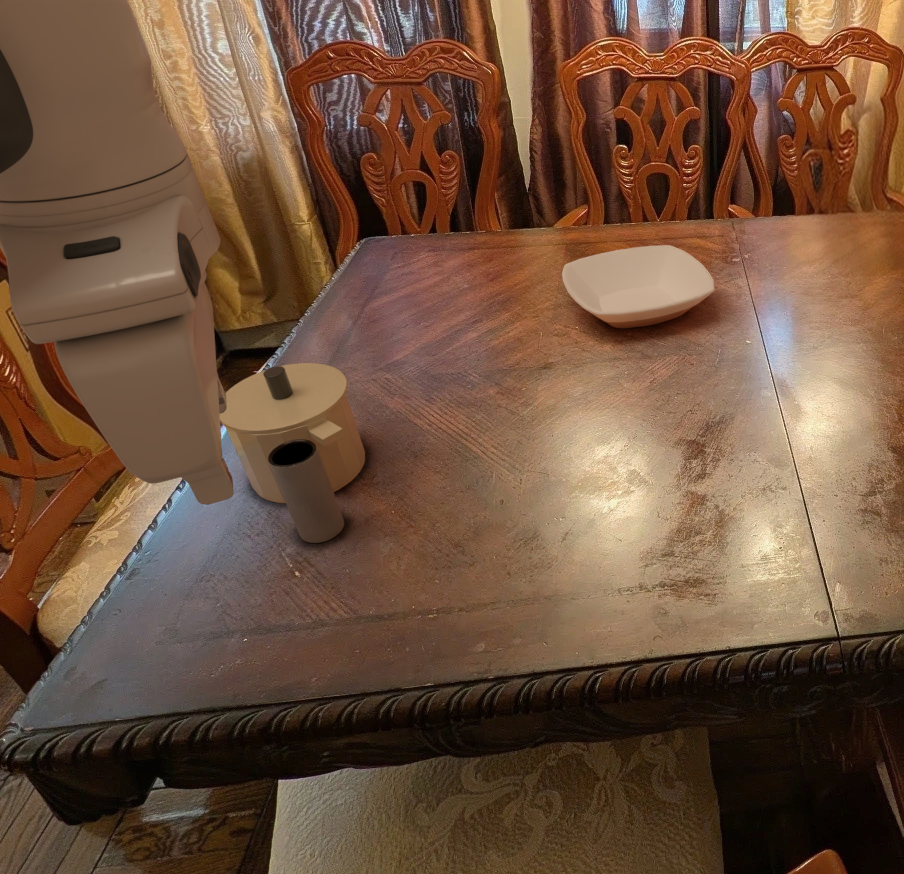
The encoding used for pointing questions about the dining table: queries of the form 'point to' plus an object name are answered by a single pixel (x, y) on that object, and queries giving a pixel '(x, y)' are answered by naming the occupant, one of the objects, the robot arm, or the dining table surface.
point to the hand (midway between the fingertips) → (215, 449)
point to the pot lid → (283, 398)
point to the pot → (328, 433)
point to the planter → (306, 490)
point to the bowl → (638, 284)
